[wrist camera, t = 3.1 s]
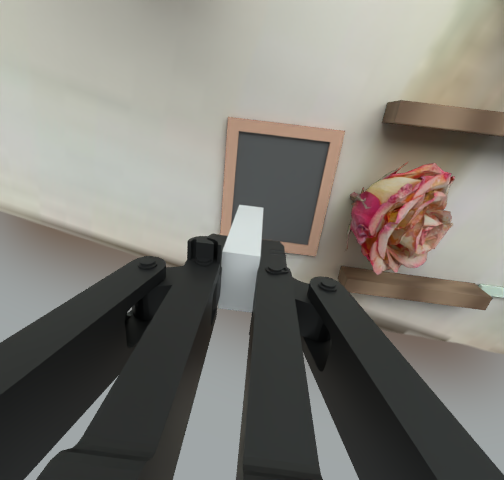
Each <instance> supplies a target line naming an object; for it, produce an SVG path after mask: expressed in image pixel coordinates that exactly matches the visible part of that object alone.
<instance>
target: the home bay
mask: <svg viewBox="0 0 504 480" xmlns="http://www.w3.org/2000/svg"><path fill="white" fill-rule="evenodd" d="M478 287H480V288H481V289H482V290H483V291H485V292H486V293H487V294H488V295H490V296H495V297H503V298H504V287H498V286H490V285H482V284H479V286H478Z"/></svg>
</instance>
